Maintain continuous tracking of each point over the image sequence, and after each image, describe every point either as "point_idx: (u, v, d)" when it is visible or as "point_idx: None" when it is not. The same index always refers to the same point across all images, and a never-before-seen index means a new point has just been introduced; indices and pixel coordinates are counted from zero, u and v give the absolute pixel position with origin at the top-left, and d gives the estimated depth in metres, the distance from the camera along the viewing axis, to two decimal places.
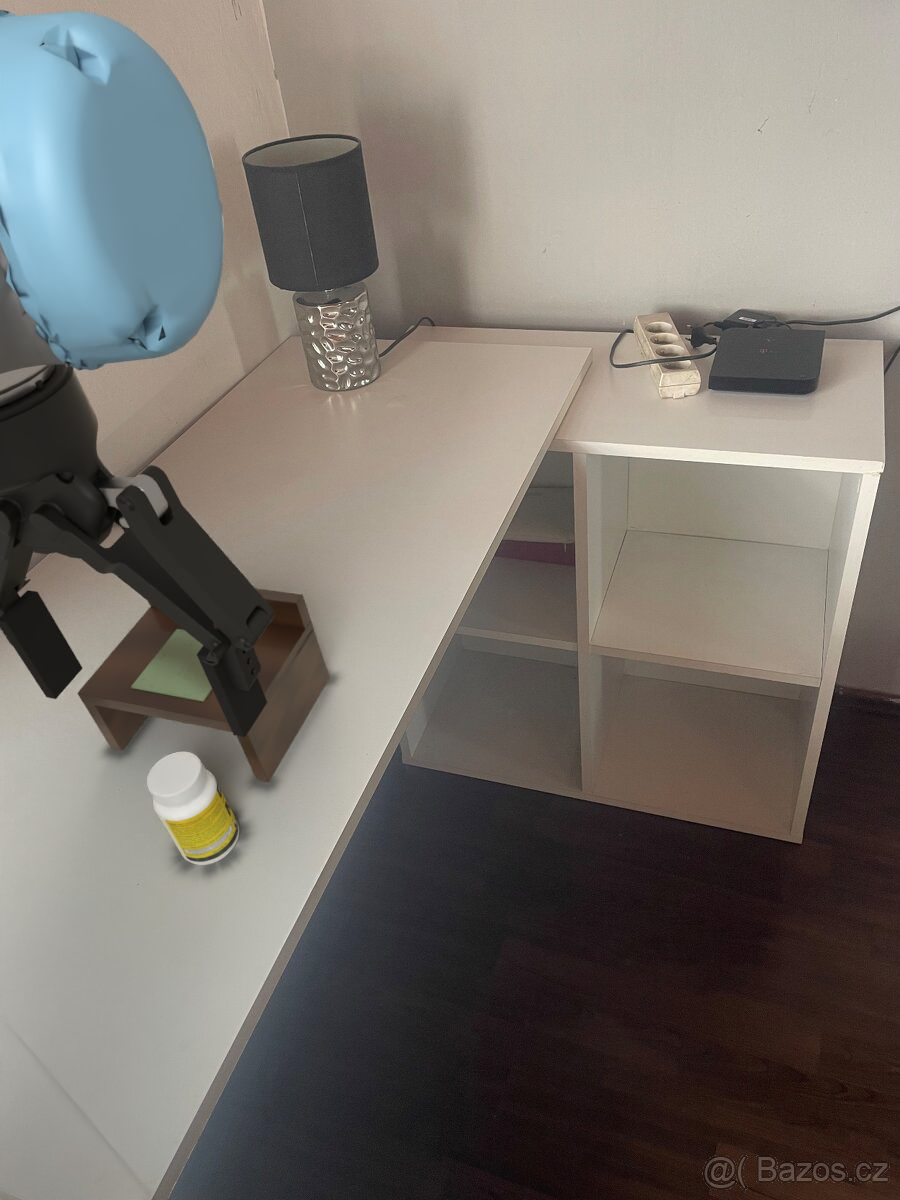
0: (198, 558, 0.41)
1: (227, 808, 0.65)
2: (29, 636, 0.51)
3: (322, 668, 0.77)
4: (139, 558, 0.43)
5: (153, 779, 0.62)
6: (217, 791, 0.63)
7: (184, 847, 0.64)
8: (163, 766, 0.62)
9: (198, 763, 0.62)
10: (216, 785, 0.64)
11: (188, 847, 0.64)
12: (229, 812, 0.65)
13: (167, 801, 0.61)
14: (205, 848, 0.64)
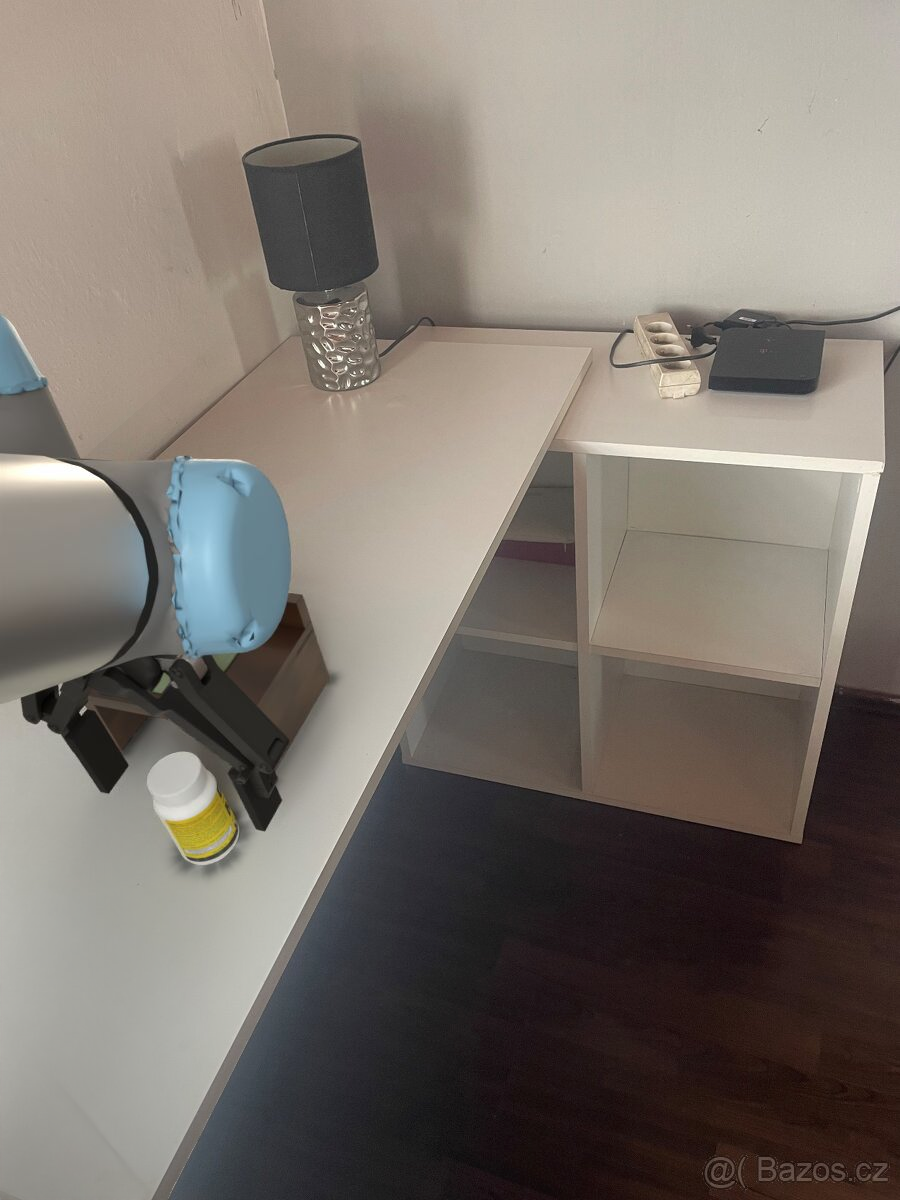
0: (230, 707, 0.53)
1: (227, 808, 0.65)
2: (89, 747, 0.63)
3: (322, 668, 0.77)
4: (183, 703, 0.54)
5: (153, 779, 0.62)
6: (217, 791, 0.63)
7: (184, 847, 0.64)
8: (162, 766, 0.62)
9: (198, 763, 0.62)
10: (216, 785, 0.64)
11: (188, 847, 0.64)
12: (229, 812, 0.65)
13: (167, 801, 0.61)
14: (205, 848, 0.64)
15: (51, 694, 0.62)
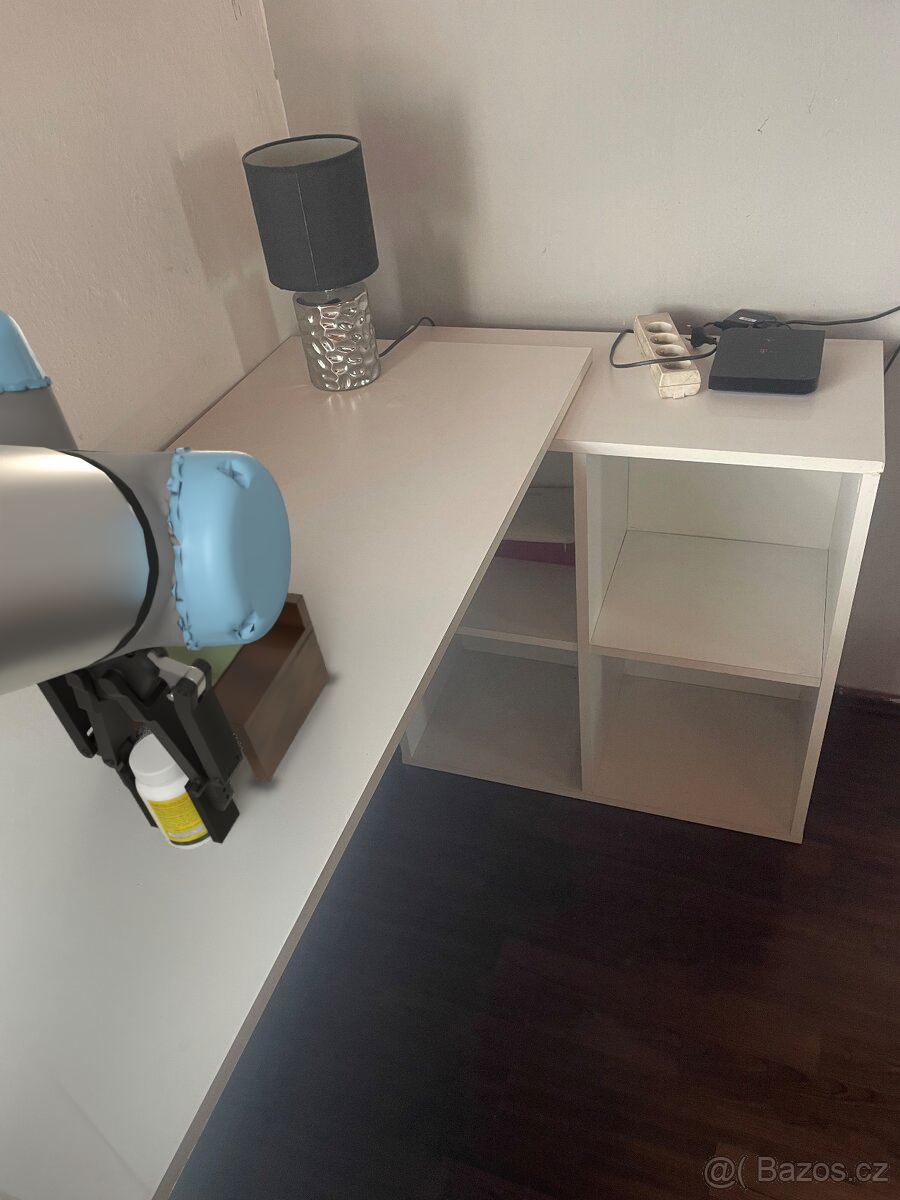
0: (211, 725, 0.55)
1: None
2: None
3: (322, 668, 0.77)
4: (166, 715, 0.56)
5: (136, 758, 0.59)
6: None
7: (168, 830, 0.62)
8: (146, 744, 0.60)
9: None
10: None
11: (172, 830, 0.62)
12: None
13: (150, 780, 0.59)
14: (189, 831, 0.62)
15: None
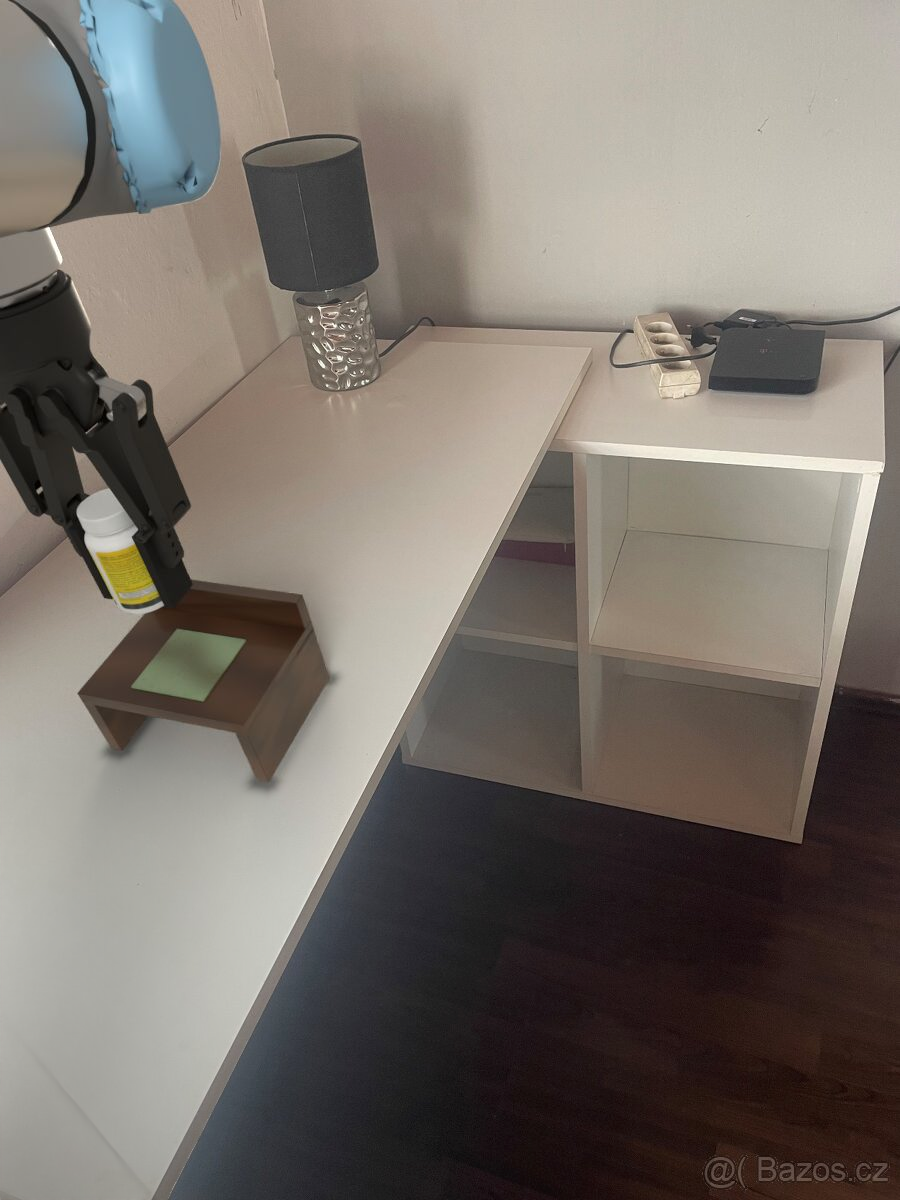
0: (154, 457, 0.55)
1: None
2: None
3: (322, 668, 0.77)
4: (110, 450, 0.55)
5: (83, 509, 0.59)
6: None
7: (118, 590, 0.62)
8: (94, 498, 0.60)
9: None
10: None
11: (122, 590, 0.62)
12: None
13: (97, 527, 0.58)
14: (140, 591, 0.62)
15: None
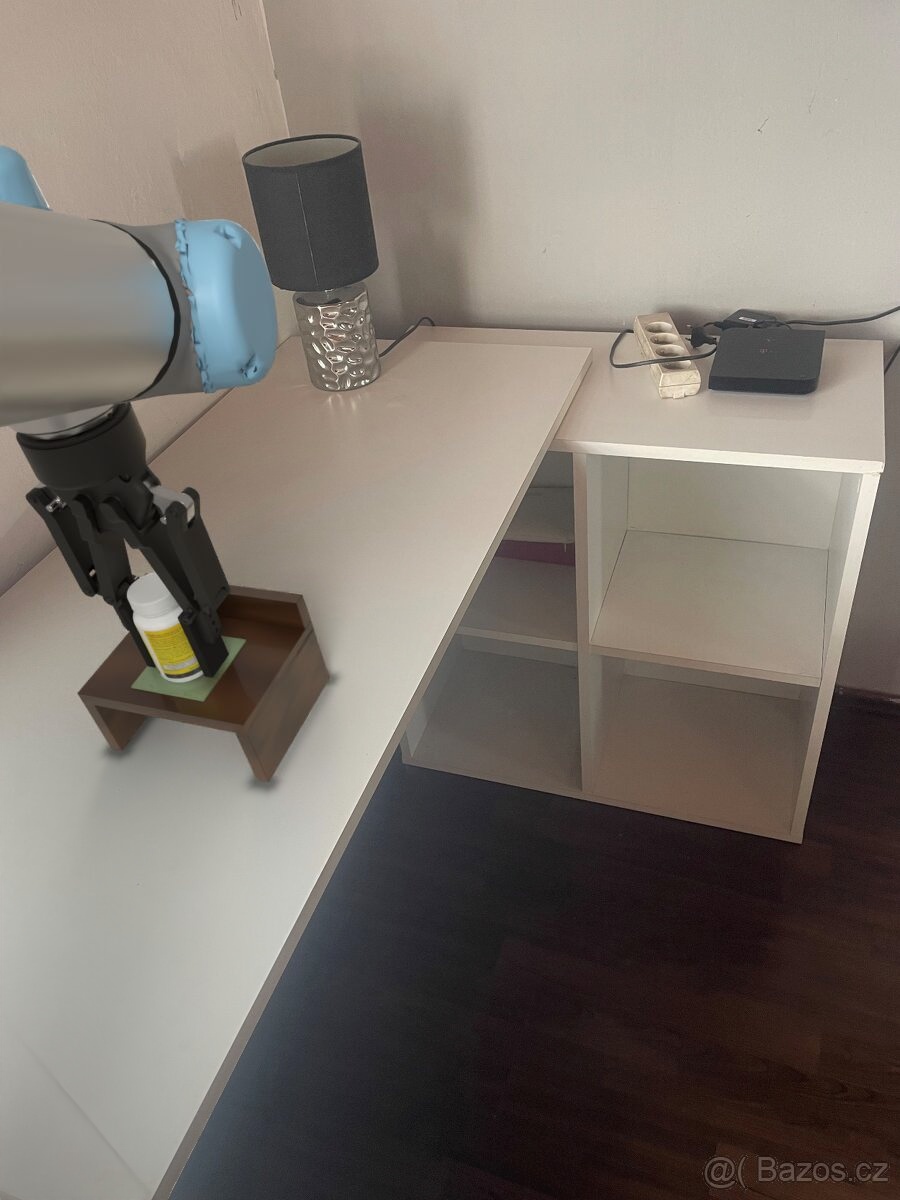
0: (200, 552, 0.62)
1: None
2: None
3: (322, 668, 0.77)
4: (160, 545, 0.62)
5: (133, 592, 0.66)
6: None
7: (163, 662, 0.69)
8: (142, 582, 0.67)
9: None
10: None
11: (166, 662, 0.68)
12: None
13: (146, 610, 0.65)
14: (182, 663, 0.69)
15: None
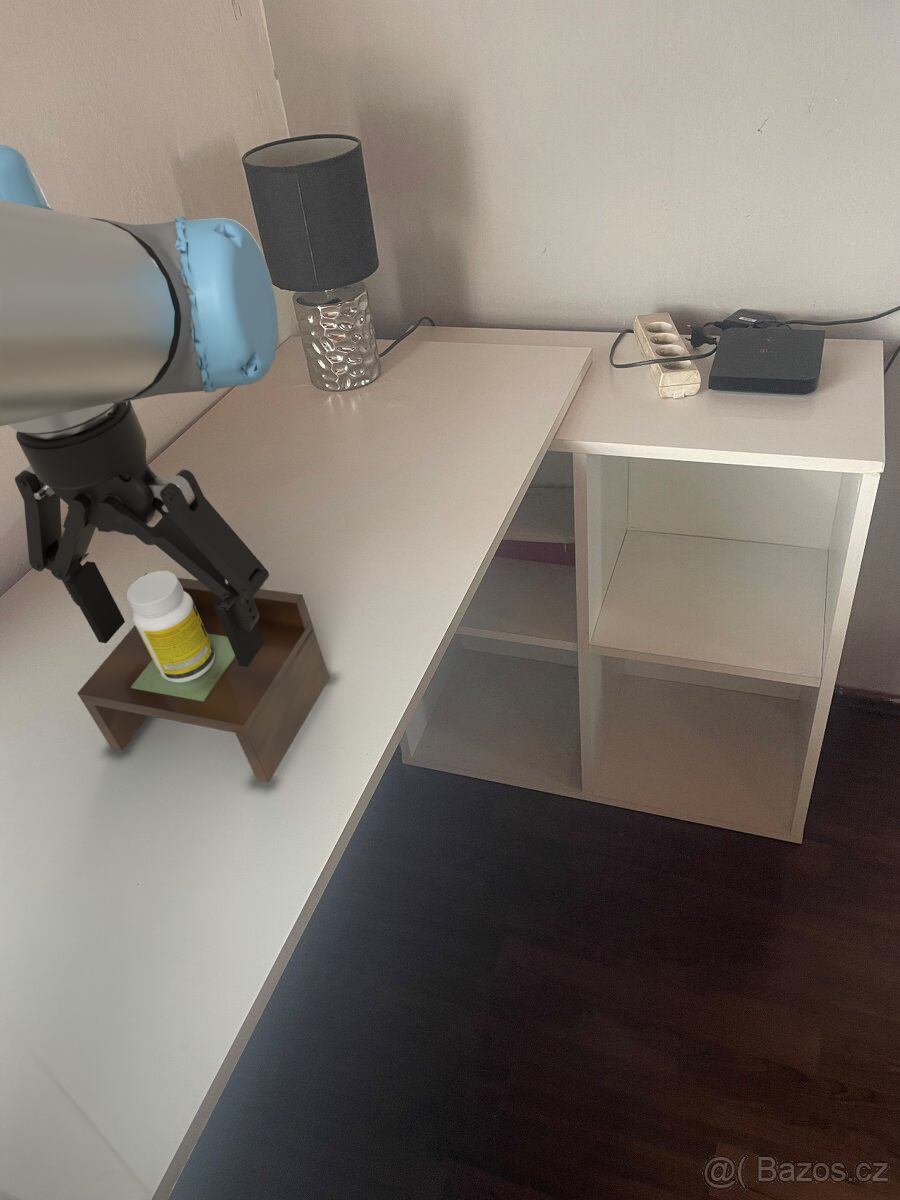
0: (215, 534, 0.60)
1: (203, 628, 0.70)
2: (88, 595, 0.69)
3: (322, 668, 0.77)
4: (174, 534, 0.61)
5: (133, 592, 0.66)
6: (193, 608, 0.68)
7: (163, 662, 0.69)
8: (142, 582, 0.67)
9: (175, 579, 0.67)
10: (192, 603, 0.68)
11: (166, 662, 0.68)
12: (205, 633, 0.70)
13: (146, 610, 0.65)
14: (182, 663, 0.69)
15: (55, 545, 0.68)
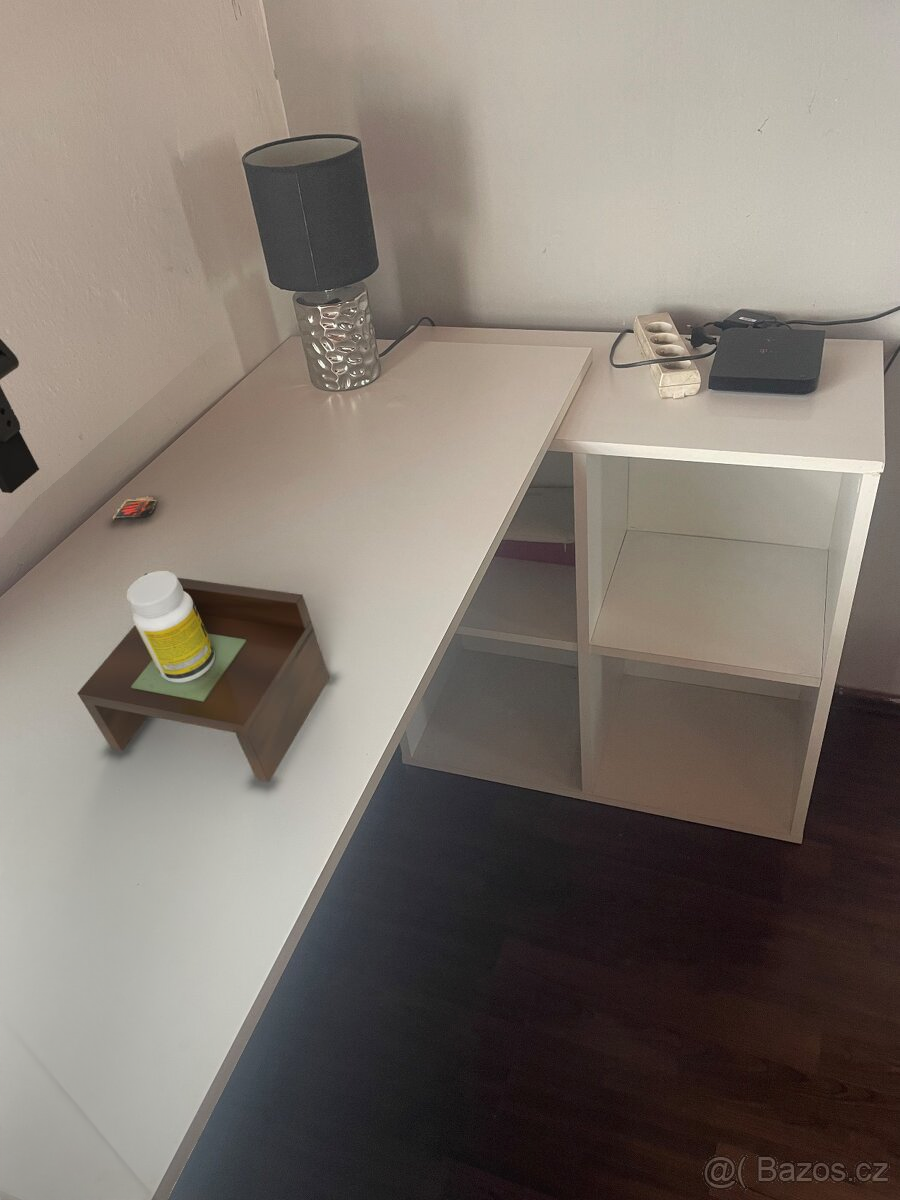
0: None
1: (203, 628, 0.70)
2: None
3: (322, 668, 0.77)
4: None
5: (133, 592, 0.66)
6: (193, 608, 0.68)
7: (163, 662, 0.69)
8: (142, 582, 0.67)
9: (175, 579, 0.67)
10: (192, 603, 0.68)
11: (166, 662, 0.68)
12: (205, 633, 0.70)
13: (146, 610, 0.65)
14: (182, 663, 0.69)
15: None
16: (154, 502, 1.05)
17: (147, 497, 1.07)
